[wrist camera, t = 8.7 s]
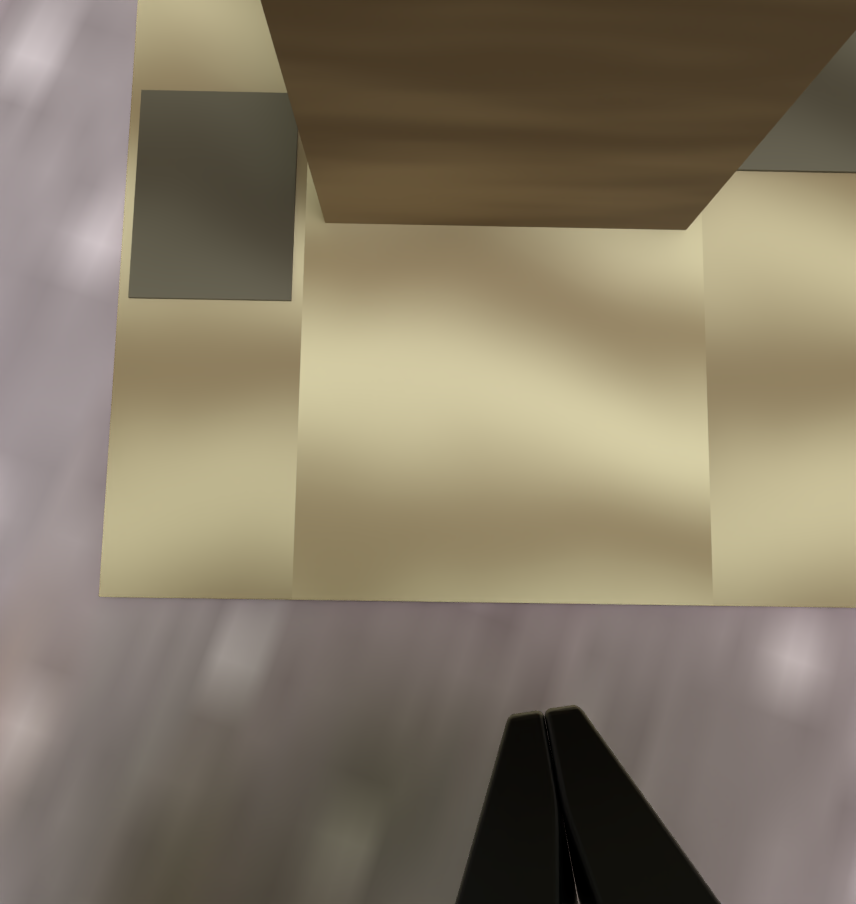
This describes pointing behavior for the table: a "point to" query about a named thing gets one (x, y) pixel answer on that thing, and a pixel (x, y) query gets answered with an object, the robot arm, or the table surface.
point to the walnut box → (541, 103)
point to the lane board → (470, 370)
